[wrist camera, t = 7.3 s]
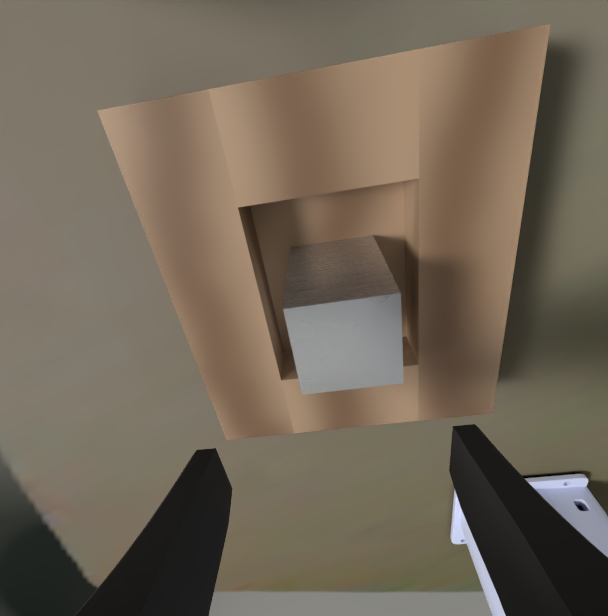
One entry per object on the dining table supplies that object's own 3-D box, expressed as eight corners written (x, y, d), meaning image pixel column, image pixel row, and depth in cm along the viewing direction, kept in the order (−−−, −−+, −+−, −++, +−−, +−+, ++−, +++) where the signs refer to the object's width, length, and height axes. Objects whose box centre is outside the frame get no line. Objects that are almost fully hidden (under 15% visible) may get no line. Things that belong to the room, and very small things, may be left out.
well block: (504, 39, 14) (550, 24, 11) (470, 376, 22) (492, 413, 19) (134, 109, 15) (97, 110, 12) (235, 402, 23) (226, 439, 21)
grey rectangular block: (372, 234, 17) (400, 292, 12) (377, 306, 19) (403, 383, 14) (290, 247, 17) (283, 309, 12) (303, 316, 19) (301, 394, 14)
